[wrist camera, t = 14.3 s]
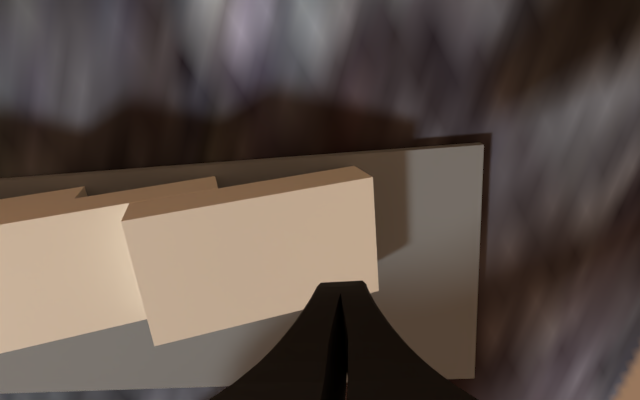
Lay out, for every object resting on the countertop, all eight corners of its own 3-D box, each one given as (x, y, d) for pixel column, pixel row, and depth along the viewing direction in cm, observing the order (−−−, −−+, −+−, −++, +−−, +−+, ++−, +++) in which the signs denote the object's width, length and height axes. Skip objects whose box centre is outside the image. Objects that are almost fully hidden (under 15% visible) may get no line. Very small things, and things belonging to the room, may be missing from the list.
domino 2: (372, 176, 16) (120, 221, 14) (378, 291, 18) (154, 346, 15) (354, 165, 18) (128, 203, 16) (361, 269, 19) (158, 316, 17)
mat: (471, 371, 22) (474, 378, 21) (-113, 390, 24) (-122, 397, 24) (480, 142, 18) (483, 144, 17) (-218, 194, 20) (-231, 197, 20)
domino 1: (218, 188, 16) (-50, 233, 14) (237, 297, 18) (0, 353, 16) (214, 175, 18) (-23, 214, 16) (233, 276, 20) (19, 324, 18)
